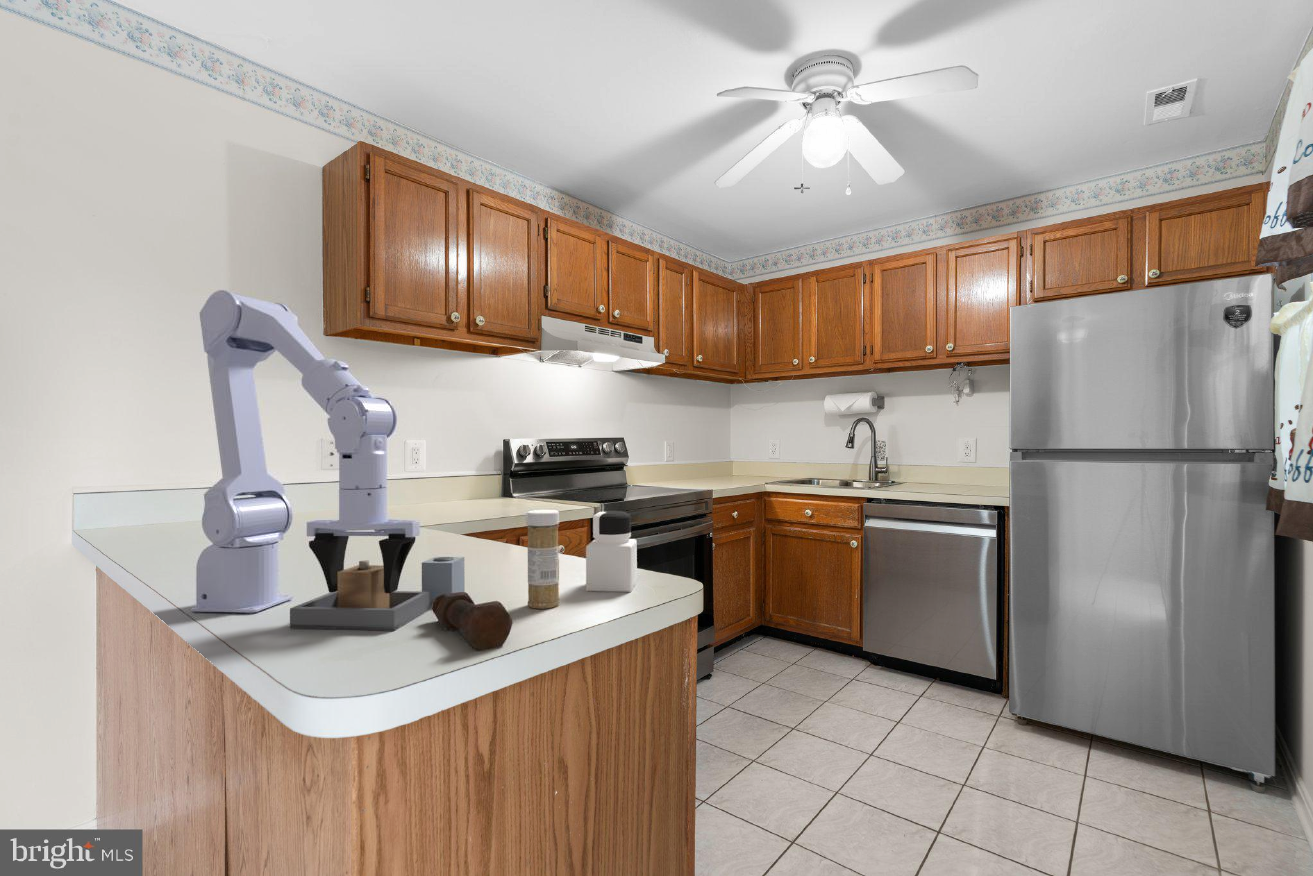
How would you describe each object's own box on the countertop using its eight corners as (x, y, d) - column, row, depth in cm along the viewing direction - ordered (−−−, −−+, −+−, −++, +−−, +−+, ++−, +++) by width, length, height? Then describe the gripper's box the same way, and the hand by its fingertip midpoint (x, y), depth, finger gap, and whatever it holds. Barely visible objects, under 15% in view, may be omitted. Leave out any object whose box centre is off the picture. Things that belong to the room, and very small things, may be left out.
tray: (289, 628, 77) (289, 608, 77) (336, 607, 86) (336, 590, 86) (394, 630, 76) (394, 610, 76) (429, 609, 85) (429, 591, 85)
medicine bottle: (637, 582, 102) (636, 509, 102) (631, 592, 94) (630, 514, 95) (594, 581, 102) (594, 509, 102) (585, 591, 95) (585, 514, 95)
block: (337, 618, 79) (337, 564, 79) (358, 609, 84) (358, 557, 84) (370, 619, 79) (370, 564, 79) (389, 610, 83) (389, 558, 83)
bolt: (449, 633, 81) (497, 660, 69) (415, 620, 78) (458, 646, 67) (470, 591, 83) (520, 610, 71) (437, 577, 80) (483, 594, 69)
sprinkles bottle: (558, 600, 90) (558, 508, 90) (560, 608, 85) (560, 511, 85) (526, 602, 89) (526, 509, 89) (526, 610, 84) (526, 512, 84)
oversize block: (421, 604, 88) (421, 561, 88) (435, 596, 93) (435, 555, 93) (451, 604, 88) (451, 561, 88) (464, 597, 92) (464, 556, 92)
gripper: (430, 485, 84) (430, 584, 84) (329, 485, 86) (329, 583, 86) (404, 489, 77) (404, 597, 77) (295, 489, 79) (295, 595, 79)
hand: (363, 591), depth 81 cm, fingers open, 7 cm apart
